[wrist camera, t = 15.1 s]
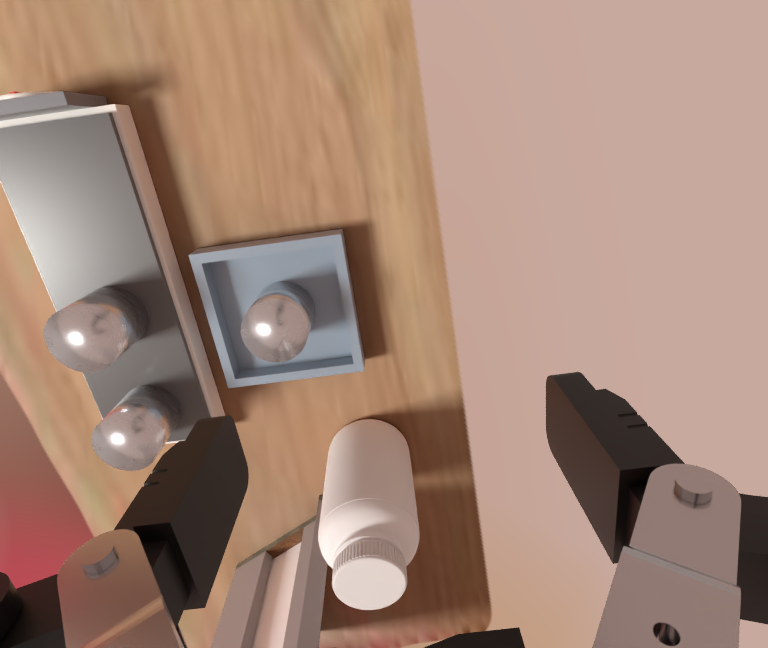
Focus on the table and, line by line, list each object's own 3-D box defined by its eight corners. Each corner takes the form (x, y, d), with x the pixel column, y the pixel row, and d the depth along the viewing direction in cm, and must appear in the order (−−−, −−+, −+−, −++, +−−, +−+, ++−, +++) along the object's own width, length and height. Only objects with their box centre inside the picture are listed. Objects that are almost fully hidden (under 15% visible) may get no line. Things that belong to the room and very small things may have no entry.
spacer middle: (74, 290, 37) (32, 313, 32) (136, 282, 37) (102, 303, 32) (98, 347, 39) (60, 376, 34) (156, 339, 39) (127, 367, 34)
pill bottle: (423, 462, 47) (444, 600, 33) (354, 493, 48) (346, 638, 35) (386, 403, 44) (391, 526, 31) (313, 437, 46) (287, 570, 32)
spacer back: (114, 389, 40) (81, 422, 36) (170, 381, 40) (144, 413, 36) (134, 437, 42) (105, 474, 38) (188, 429, 42) (166, 466, 38)
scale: (-11, 106, 34) (-71, 102, 30) (122, 86, 34) (83, 79, 29) (126, 436, 45) (98, 471, 41) (228, 424, 45) (211, 457, 40)
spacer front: (249, 285, 39) (233, 306, 34) (308, 277, 39) (300, 297, 34) (263, 339, 41) (249, 366, 36) (320, 332, 41) (313, 358, 36)
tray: (198, 248, 38) (188, 255, 36) (342, 228, 38) (341, 234, 36) (235, 376, 43) (228, 388, 41) (364, 359, 43) (364, 371, 41)
